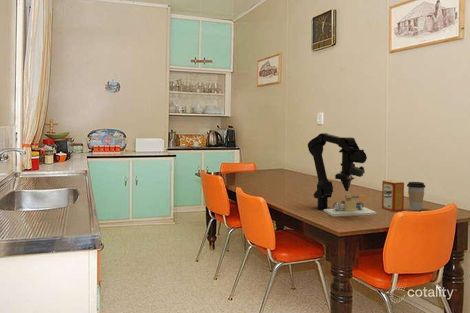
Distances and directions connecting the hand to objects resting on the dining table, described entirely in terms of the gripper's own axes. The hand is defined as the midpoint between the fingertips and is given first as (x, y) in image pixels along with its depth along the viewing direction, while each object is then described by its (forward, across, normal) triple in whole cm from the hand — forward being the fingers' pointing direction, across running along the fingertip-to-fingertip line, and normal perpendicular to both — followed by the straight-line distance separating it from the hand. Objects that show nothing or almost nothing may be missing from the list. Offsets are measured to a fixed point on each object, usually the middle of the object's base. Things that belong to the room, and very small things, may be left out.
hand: (346, 191), depth 213 cm
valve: (+11, +6, +1) cm, 13 cm away
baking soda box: (+13, +26, -17) cm, 34 cm away
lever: (+5, +9, -2) cm, 10 cm away
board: (+13, +5, 0) cm, 14 cm away
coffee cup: (+13, +33, -27) cm, 44 cm away
